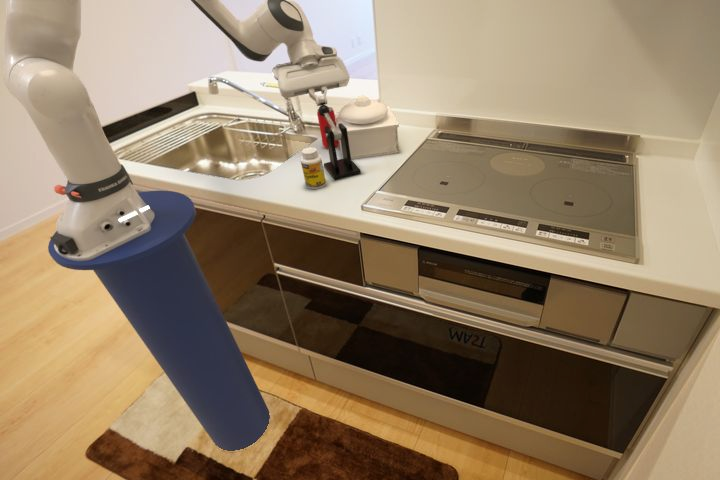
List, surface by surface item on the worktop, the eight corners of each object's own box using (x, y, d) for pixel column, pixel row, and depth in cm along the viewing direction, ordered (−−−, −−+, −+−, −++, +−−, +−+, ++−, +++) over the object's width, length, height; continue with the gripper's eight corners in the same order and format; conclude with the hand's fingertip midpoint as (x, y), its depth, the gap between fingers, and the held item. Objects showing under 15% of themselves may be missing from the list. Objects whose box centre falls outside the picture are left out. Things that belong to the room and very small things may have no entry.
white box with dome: (338, 138, 139) (330, 89, 129) (390, 131, 141) (387, 82, 131) (342, 160, 126) (334, 107, 116) (400, 152, 128) (397, 100, 118)
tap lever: (317, 113, 120) (316, 103, 117) (327, 110, 121) (327, 101, 118) (332, 143, 114) (332, 133, 111) (343, 140, 115) (343, 131, 112)
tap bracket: (324, 167, 123) (316, 124, 115) (349, 160, 125) (343, 118, 117) (334, 180, 116) (326, 136, 108) (361, 173, 118) (355, 130, 110)
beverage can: (333, 141, 137) (327, 105, 130) (342, 146, 134) (336, 109, 126) (320, 146, 135) (313, 109, 127) (328, 151, 132) (322, 113, 124)
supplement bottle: (303, 189, 113) (295, 154, 107) (310, 179, 117) (303, 145, 111) (322, 190, 112) (315, 155, 106) (329, 180, 116) (322, 146, 110)
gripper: (269, 59, 112) (286, 105, 111) (340, 46, 118) (357, 91, 117) (270, 72, 118) (286, 117, 117) (338, 60, 124) (353, 102, 123)
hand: (322, 104), depth 117 cm, fingers closed, pressing on tap lever
